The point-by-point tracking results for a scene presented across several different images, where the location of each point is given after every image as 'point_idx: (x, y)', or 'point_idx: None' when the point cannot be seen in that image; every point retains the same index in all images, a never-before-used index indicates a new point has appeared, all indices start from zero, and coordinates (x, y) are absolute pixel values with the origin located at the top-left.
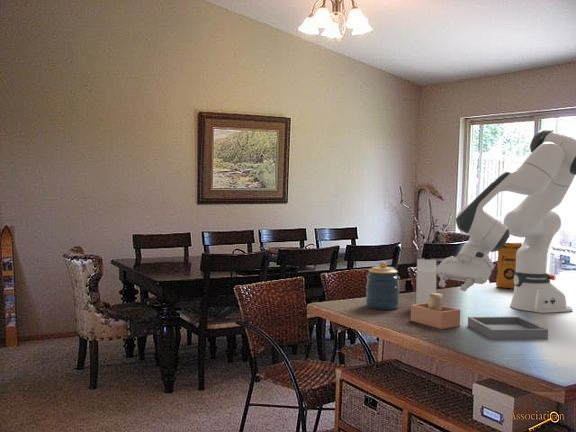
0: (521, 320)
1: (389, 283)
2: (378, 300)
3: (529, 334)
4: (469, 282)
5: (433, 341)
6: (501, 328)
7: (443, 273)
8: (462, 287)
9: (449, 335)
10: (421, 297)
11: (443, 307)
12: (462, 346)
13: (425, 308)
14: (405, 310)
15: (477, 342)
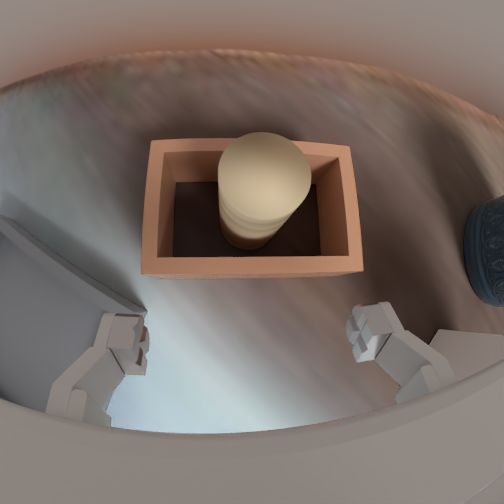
0: None
1: None
2: (490, 203)
3: None
4: (65, 377)
5: (99, 72)
6: (37, 340)
7: (449, 385)
8: (113, 317)
9: (99, 139)
10: (461, 348)
11: (247, 257)
12: (37, 106)
13: None
14: (446, 285)
15: (23, 161)
